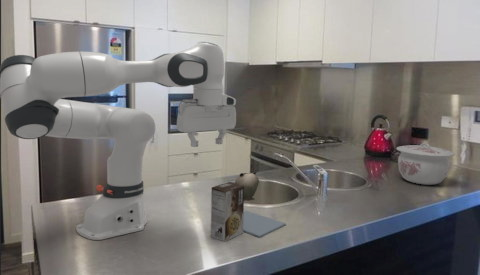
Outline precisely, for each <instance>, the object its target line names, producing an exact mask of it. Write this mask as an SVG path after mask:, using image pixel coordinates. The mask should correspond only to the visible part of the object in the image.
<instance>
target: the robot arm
mask: <svg viewBox="0 0 480 275" xmlns="http://www.w3.org/2000/svg"><path fill="white" fill-rule="evenodd" d="M224 58H225V57H224V52H223V49H222V48H221V47H220V46H219V44H215V43H213V42H206V41H198V42H197V43H196V44H195V45H193V46H191V47H189V48H186V49H185V50H181V51H179V52H178V51H177V52H173V53H163V54H160V55H159V56H157V57H155V58H154V59H149V60H121V59H117V58H115V57H113V56H111V55H110V54H107V53H103V52H98V51H97V52H96V51H81V50H79V51H65V52H55V53H51V54H50V53H49V54H44V55H41V56H37V57H36V58H35V57H33V56H31V55H24V54H16V55H10V56H9V57H6V58H5V59H4V60H3V61H1V63H0V101H1V104H2V109H3V110H2V111H3V112H4V116H5V117H4V122H5V126H6V127H7V130H8V131H9V133H10V134H11V135H12V136H14V137H16V138H19V139H23V140H35V139H40V138H43V137H51V138H59V139H61V138H62V139H76V140H95V139H96V140H97V139H98V140H101V139H103V140H106V139H107V140H114V144H113V149H112V151H111V152H112V153H111V154H110V156H108V158H107V161H106V167H107V168H106V169H107V170H106V172H107V174H106V175H107V176H106V177H107V178H106V179H107V182H106V184H105V185H101V184H97V185H96V187H95V189H96V191H97V192H100V193H102V195H100V197H99V198H97V200H95V202H93V203H92V204H91V205H90V206H89V207H88V208H87V209H86V210H85V213H84V217H83V222H81V223H79V224H77V225H76V229H75V230H76V233H77V234H78V235H80V236H82V237H84V238H86V239H89V240H93V241H101V240H105V239H109V238H114V237H119V236H122V235H127V234H132V233H136V232H139V231H143V230H144V229H145V226H146V224H147V223H148V218H147V215H146V210H145V205H144V197H143V195H144V181H143V158H144V153H145V150H146V147H147V144H148V143H149V141H150V140H151V139H152V138H153V137H154V135H155V133H156V123H155V119H154V118H153V117H152V116H151V115H150V114H149V113H148V112H147V113H146V112H145V111H143V110H141V109H137V108H132V107H131V108H130V107H122V106H114V105H109V104H108V105H107V104H101V103H100V104H99V103H94V102H86V101H85V102H84V101H78V100H73V99H72V100H71V99H65V98H73V97H74V98H77V97H93V96H98V95H103V94H108V93H111V92H113V91H114V90H116V89H117V88H118V87H120V86H122V85H127V84H138V83H155V84H158V85H160V86H162V87H166V88H173V87H174V88H186V87H189V86H192V88H193V98H190V99H189V98H188V99H186V98H184V99H182V100H181V101H180V102H179V103H178V108H177V109H178V111H177V112H178V113H177V120H176V129H177V131H178V132H182V133H187V137H188V138H189V141H190V147H193V148H197V147H199V140H197V139H196V137H195V136H196V135H197V132H207V131H217V132H218V135H217V137H215V140H214V141H215V145H223V141H224V140H223V139H224V137H225V136H226V133H227V130H233V129H235V127H236V124H237V109H236V107H235V106H236V103H237V100H236V98H234V97H233V96H230V95H228V94H226V93H224V84H223V79H224V75H225V60H224Z"/></svg>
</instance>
